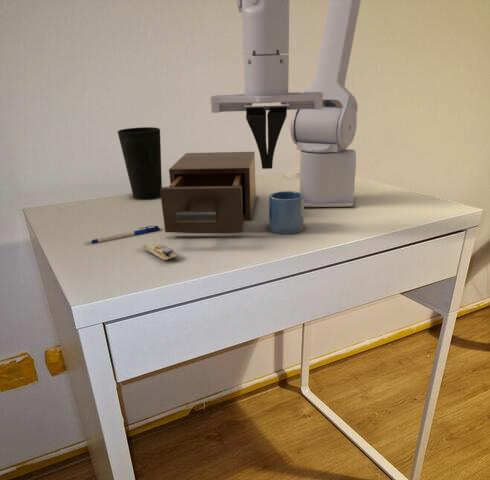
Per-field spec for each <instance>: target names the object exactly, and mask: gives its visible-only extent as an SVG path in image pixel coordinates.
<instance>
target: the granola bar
mask: <svg viewBox="0 0 490 480" xmlns="http://www.w3.org/2000/svg"><path fill="white" fill-rule="evenodd" d="M141 247H142V248H144V249H145V250H146V251H148V252H150V253H151V254H153V255H155V256H156V257H158V258H160V259H162V260H164V261H168V260H171V259H174V258H175V257H178V256H179V254H178V253H177V252H176V251H175V250H173V249H172V248H170V247H168V246H166V245H164V244H162V243H160V242H159V241H156V240H154V241H150V242H146V243H145V244H142V245H141Z"/></svg>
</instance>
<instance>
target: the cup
mask: <svg viewBox="0 0 490 480" xmlns="http://www.w3.org/2000/svg"><path fill="white" fill-rule="evenodd" d="M117 134H118V139H119V144H120V148H121V152H122V156H123V161H124V164H125V167H126V172H127V177H128V180H129V184H130V188H131V189H130V190H131V192H132V193H131V194H132V197H133V199H135V200H154V199H158V198H161V193H160V189H161V188H162V187H163V179H162V176H163V175H162V149H161V146H162V145H161V143H162V142H161V129H160V128H159V127H153V126H152V127H151V126H149V127H148V126H146V127H145V126H144V127H143V126H142V127H131V128H129V127H128V128H123V129H119V130H118V131H117Z"/></svg>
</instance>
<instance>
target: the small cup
mask: <svg viewBox="0 0 490 480" xmlns="http://www.w3.org/2000/svg"><path fill="white" fill-rule="evenodd" d="M304 209H305V207H304V194H302V193H300V191H292V190H291V191H289V190H283V191H275V192H272V193H270V194H269V196H268V211H269V212H268V219H269V220H268V226H269V227H268V228H269V231H270V232H273V233H276V234H283V235H290V234H296V233H299V232H302V230H304V215H305V214H304Z"/></svg>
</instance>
